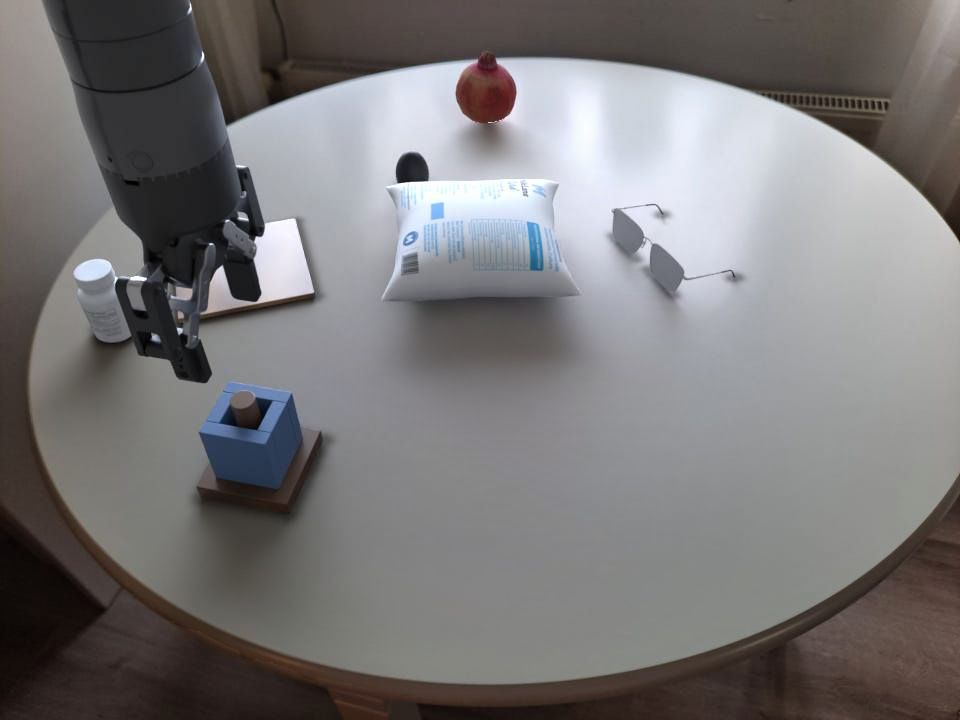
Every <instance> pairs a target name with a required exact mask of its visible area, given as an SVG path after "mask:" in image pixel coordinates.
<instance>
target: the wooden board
mask: <svg viewBox="0 0 960 720" xmlns="http://www.w3.org/2000/svg"><path fill="white" fill-rule="evenodd" d="M264 224H265V231H264V234H263V236H262V237H256V238H255V241H254V243H255V244H256V246H257V253H256V256H255V258H254V262H255V266H256V270H257V274H258V278H259V284H260V288H261V292H262V294H261V296H260V298H259V299H258V301H257V302H249V301H243V300H237V299H235V298H233V297H232V295H231V293H230V289H229V286H228V282H227V279H226V275H225V272H224V269H223V265H222V266H221V267H220V268H219V269H217V270H216V272H215V274H214V276H213V278H212V280H211V282H210V287H209V299H208V308H207V310H206V311H205V312H203V313H201V315H200V320H203V319H204V320H205V319H209V318H213V317H219V316H223V315H229V314H235V313H239V312H245V311H251V310H256V309H261V308H265V307H270V306H276V305H281V304H285V303H291V302H295V301H301V300H306V299H312V298H316V293H315V289H314V285H313V281H312V277H311V274H310V273H311V272H310V269H309V266H308V262H307V259H306V255H305V251H304V247H303V242H302V239H301V236H300V235H301V234H300V232H299V228H298V224H297V220H296V217H295V218H294V217H293V218H292V217H291V218H288V219H282V220H281V219H280V220H275V221H270V222H264ZM174 287H175V288H174V289H175V297H181V298H187V299H190V298H191V297H192V289H188V288H182V287H177V286H174ZM176 312H177V313H176V314H177V321H178V323H179V324H183V320H184V315H183V313H182V312H180V311H176Z"/></svg>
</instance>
